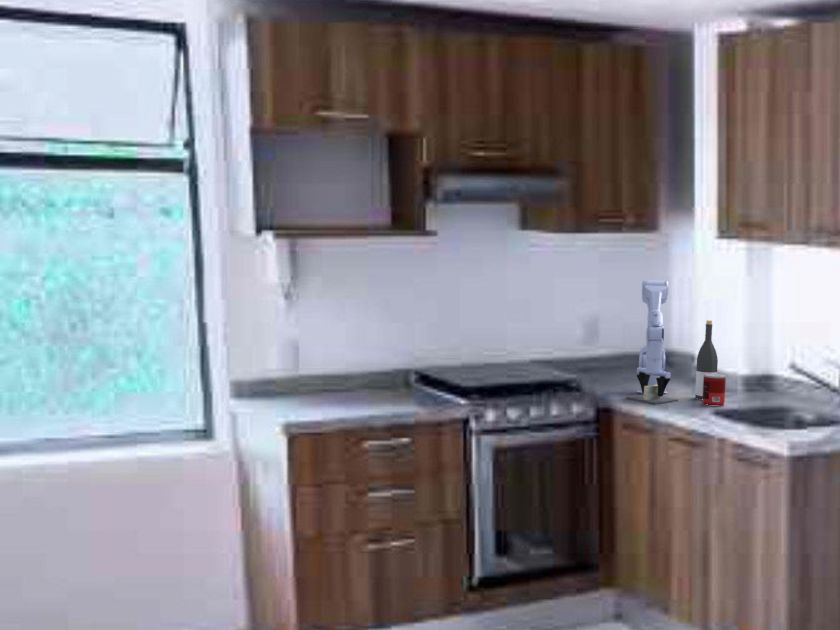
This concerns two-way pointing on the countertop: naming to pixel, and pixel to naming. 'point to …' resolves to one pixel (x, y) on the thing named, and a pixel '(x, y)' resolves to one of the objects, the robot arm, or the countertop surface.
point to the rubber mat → (654, 401)
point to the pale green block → (651, 392)
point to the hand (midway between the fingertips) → (652, 394)
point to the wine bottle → (705, 360)
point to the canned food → (714, 389)
